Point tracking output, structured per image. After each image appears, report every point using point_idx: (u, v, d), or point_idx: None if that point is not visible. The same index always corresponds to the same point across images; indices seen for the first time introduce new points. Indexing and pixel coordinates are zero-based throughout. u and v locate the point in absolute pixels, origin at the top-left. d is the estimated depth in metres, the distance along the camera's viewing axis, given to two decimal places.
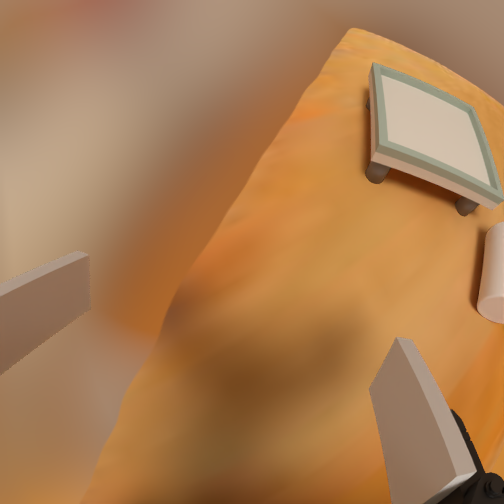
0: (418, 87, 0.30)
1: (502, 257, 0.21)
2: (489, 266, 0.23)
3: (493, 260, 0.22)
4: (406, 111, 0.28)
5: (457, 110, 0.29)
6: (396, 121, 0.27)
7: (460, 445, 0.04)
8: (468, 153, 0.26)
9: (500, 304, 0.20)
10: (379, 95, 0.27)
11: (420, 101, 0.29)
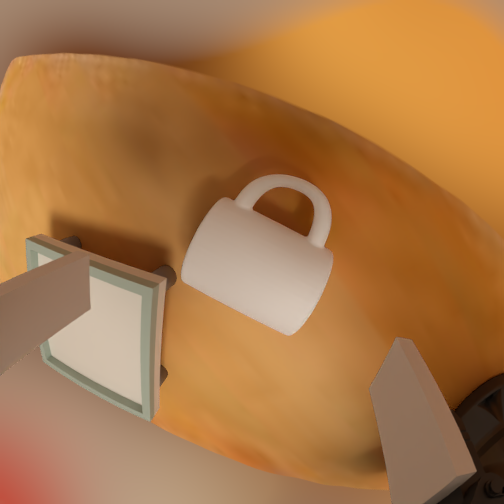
0: None
1: None
2: None
3: None
4: (87, 359, 0.28)
5: None
6: (108, 380, 0.28)
7: (459, 445, 0.04)
8: (101, 301, 0.25)
9: None
10: (89, 389, 0.28)
11: None
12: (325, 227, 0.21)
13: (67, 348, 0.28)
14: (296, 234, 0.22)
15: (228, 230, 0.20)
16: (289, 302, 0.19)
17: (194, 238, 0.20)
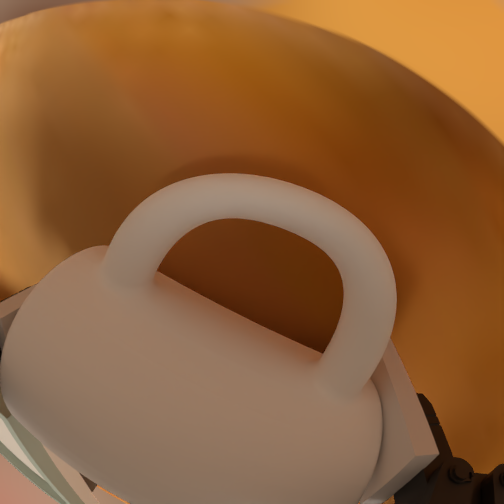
0: None
1: None
2: None
3: None
4: (6, 441, 0.12)
5: None
6: (34, 469, 0.13)
7: (423, 426, 0.05)
8: None
9: None
10: (19, 470, 0.12)
11: None
12: (376, 351, 0.06)
13: None
14: (282, 368, 0.07)
15: (57, 377, 0.05)
16: None
17: (0, 378, 0.04)
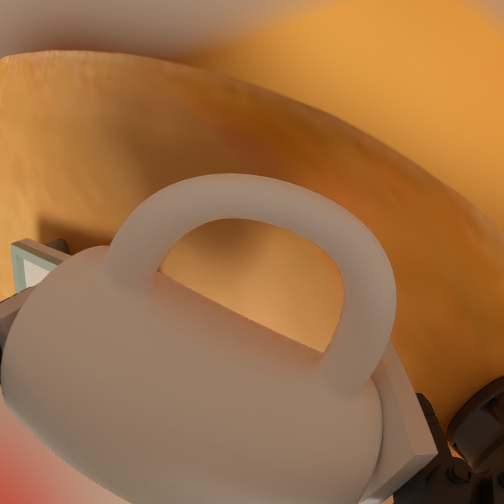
0: None
1: None
2: None
3: None
4: None
5: (28, 272, 0.24)
6: None
7: (422, 426, 0.05)
8: None
9: None
10: None
11: None
12: (376, 351, 0.06)
13: None
14: (283, 368, 0.07)
15: (58, 378, 0.05)
16: None
17: (1, 379, 0.04)
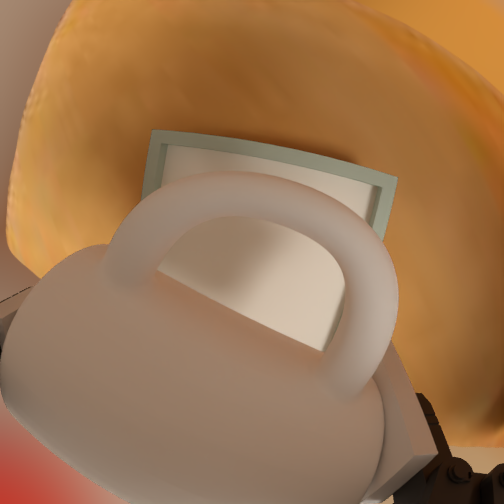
0: None
1: None
2: None
3: None
4: None
5: (172, 174, 0.21)
6: None
7: (422, 426, 0.05)
8: None
9: None
10: None
11: (190, 272, 0.22)
12: (378, 350, 0.06)
13: None
14: (284, 367, 0.07)
15: (57, 377, 0.05)
16: None
17: None
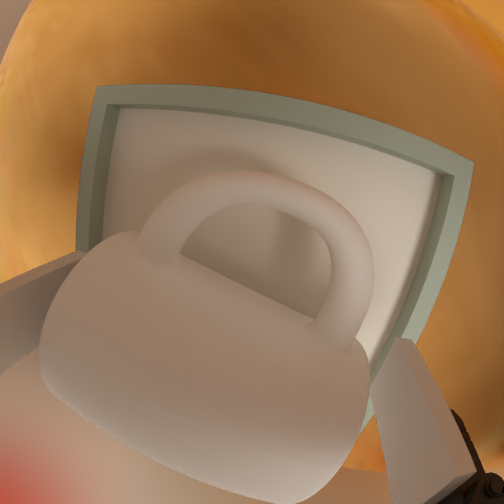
0: None
1: None
2: None
3: None
4: None
5: (123, 151, 0.12)
6: None
7: (460, 445, 0.04)
8: None
9: None
10: None
11: None
12: (359, 309, 0.08)
13: None
14: (284, 325, 0.08)
15: (100, 334, 0.06)
16: (262, 488, 0.06)
17: (39, 345, 0.06)
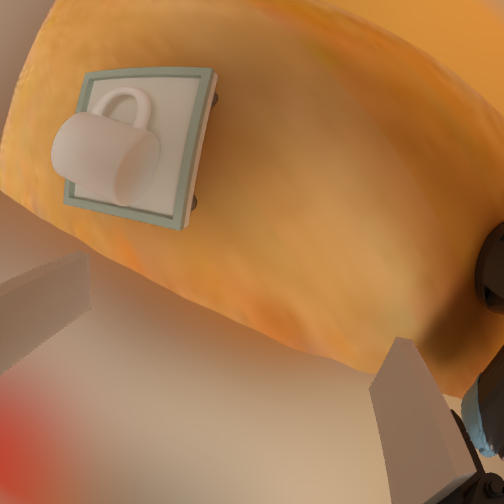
0: None
1: (86, 188, 0.25)
2: None
3: None
4: None
5: (94, 96, 0.28)
6: None
7: (460, 445, 0.04)
8: (154, 101, 0.27)
9: (129, 187, 0.25)
10: (113, 212, 0.30)
11: None
12: (142, 113, 0.23)
13: None
14: (124, 124, 0.24)
15: (75, 124, 0.22)
16: (102, 163, 0.22)
17: (56, 134, 0.22)
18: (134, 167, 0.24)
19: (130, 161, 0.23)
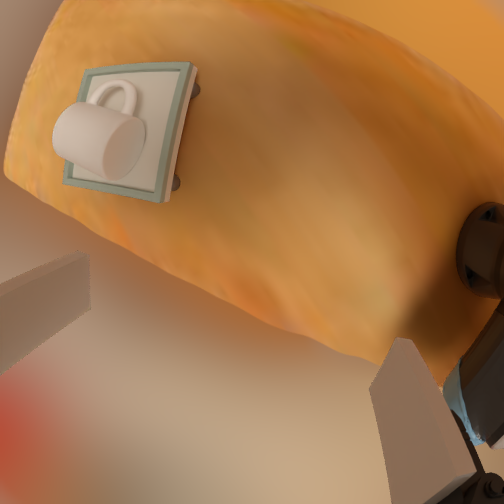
0: None
1: (80, 165, 0.28)
2: None
3: None
4: None
5: (92, 89, 0.31)
6: None
7: (460, 445, 0.04)
8: (142, 92, 0.30)
9: (116, 164, 0.28)
10: (104, 189, 0.33)
11: None
12: (129, 100, 0.26)
13: None
14: (114, 110, 0.27)
15: (73, 111, 0.25)
16: (93, 142, 0.25)
17: None
18: (120, 146, 0.27)
19: (116, 140, 0.26)
